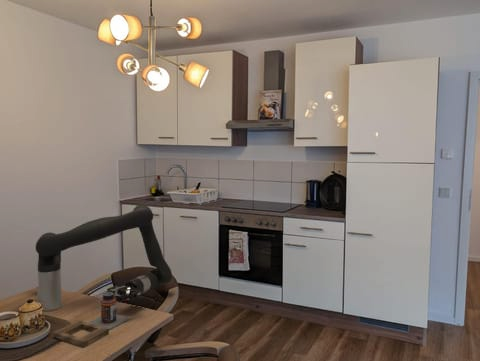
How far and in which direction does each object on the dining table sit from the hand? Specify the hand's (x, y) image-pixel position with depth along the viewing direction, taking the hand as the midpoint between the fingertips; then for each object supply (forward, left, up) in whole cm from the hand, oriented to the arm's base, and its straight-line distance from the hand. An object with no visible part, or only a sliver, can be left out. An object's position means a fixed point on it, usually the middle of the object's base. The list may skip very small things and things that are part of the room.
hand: (111, 297), depth 167 cm
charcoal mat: (0, -2, -9) cm, 10 cm away
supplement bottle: (0, -2, -9) cm, 9 cm away
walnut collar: (0, -16, -9) cm, 18 cm away
